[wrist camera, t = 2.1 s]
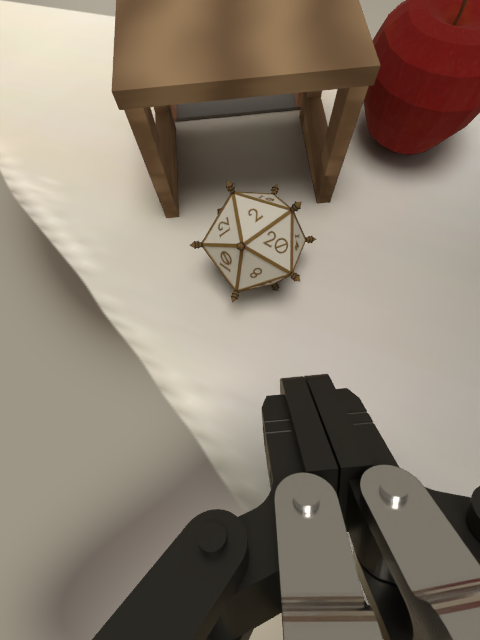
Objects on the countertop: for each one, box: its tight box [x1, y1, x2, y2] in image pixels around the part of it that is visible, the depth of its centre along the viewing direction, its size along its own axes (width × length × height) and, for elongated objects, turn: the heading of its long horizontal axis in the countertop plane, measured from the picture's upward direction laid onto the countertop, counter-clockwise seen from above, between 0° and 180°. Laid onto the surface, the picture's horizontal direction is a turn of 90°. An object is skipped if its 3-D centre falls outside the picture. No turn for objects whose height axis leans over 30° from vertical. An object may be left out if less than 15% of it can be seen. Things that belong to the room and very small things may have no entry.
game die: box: [190, 180, 316, 302], centre depth 26 cm, size 9×8×10 cm
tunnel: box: [112, 0, 380, 218], centre depth 27 cm, size 16×11×12 cm
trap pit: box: [170, 92, 303, 121], centre depth 35 cm, size 15×6×3 cm, turn 95°
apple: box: [364, 0, 480, 155], centre depth 28 cm, size 11×11×12 cm
